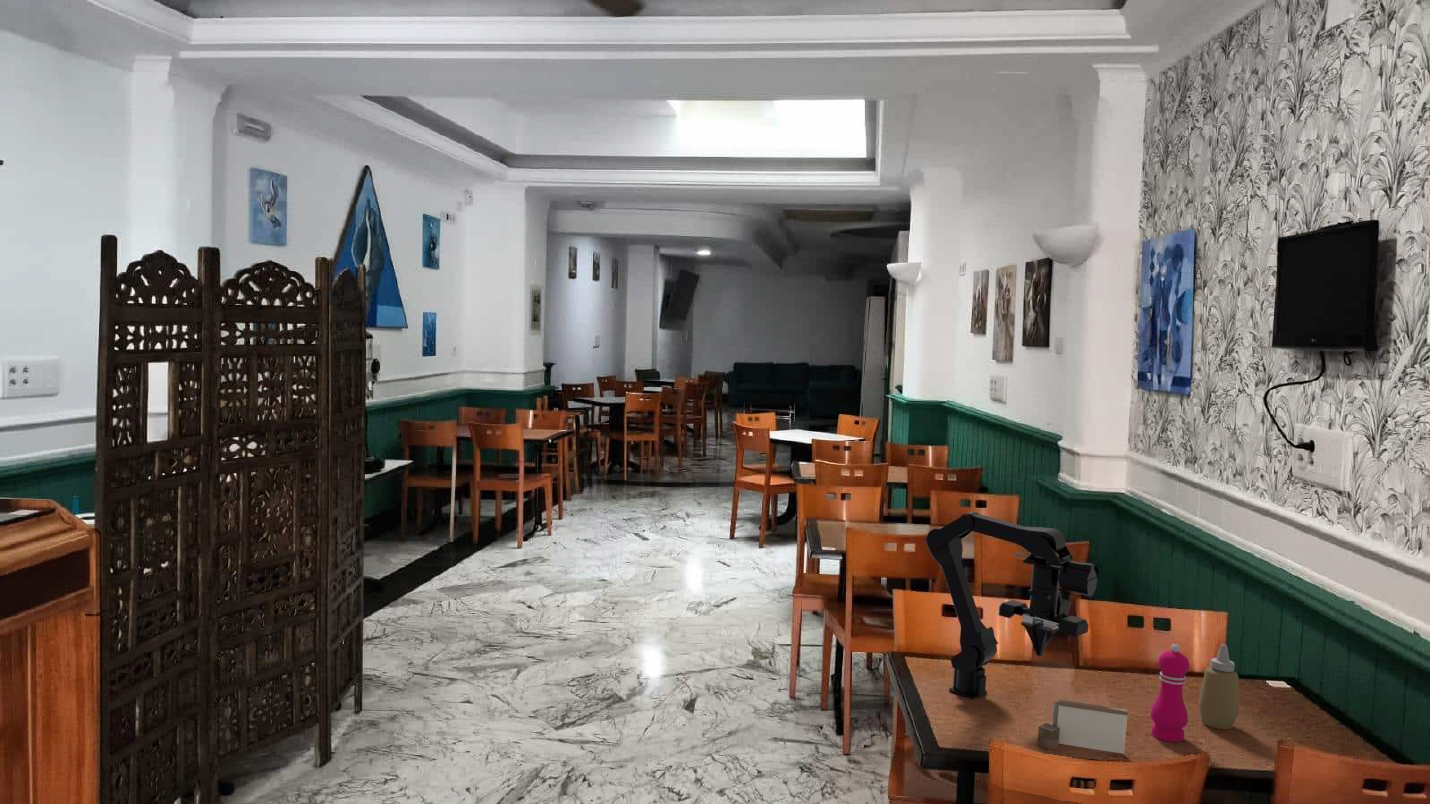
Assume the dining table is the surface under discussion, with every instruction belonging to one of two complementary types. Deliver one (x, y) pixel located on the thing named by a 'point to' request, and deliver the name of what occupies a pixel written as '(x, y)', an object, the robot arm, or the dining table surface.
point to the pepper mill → (1170, 697)
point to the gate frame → (1048, 736)
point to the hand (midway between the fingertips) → (1039, 655)
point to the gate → (1091, 725)
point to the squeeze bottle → (1220, 692)
